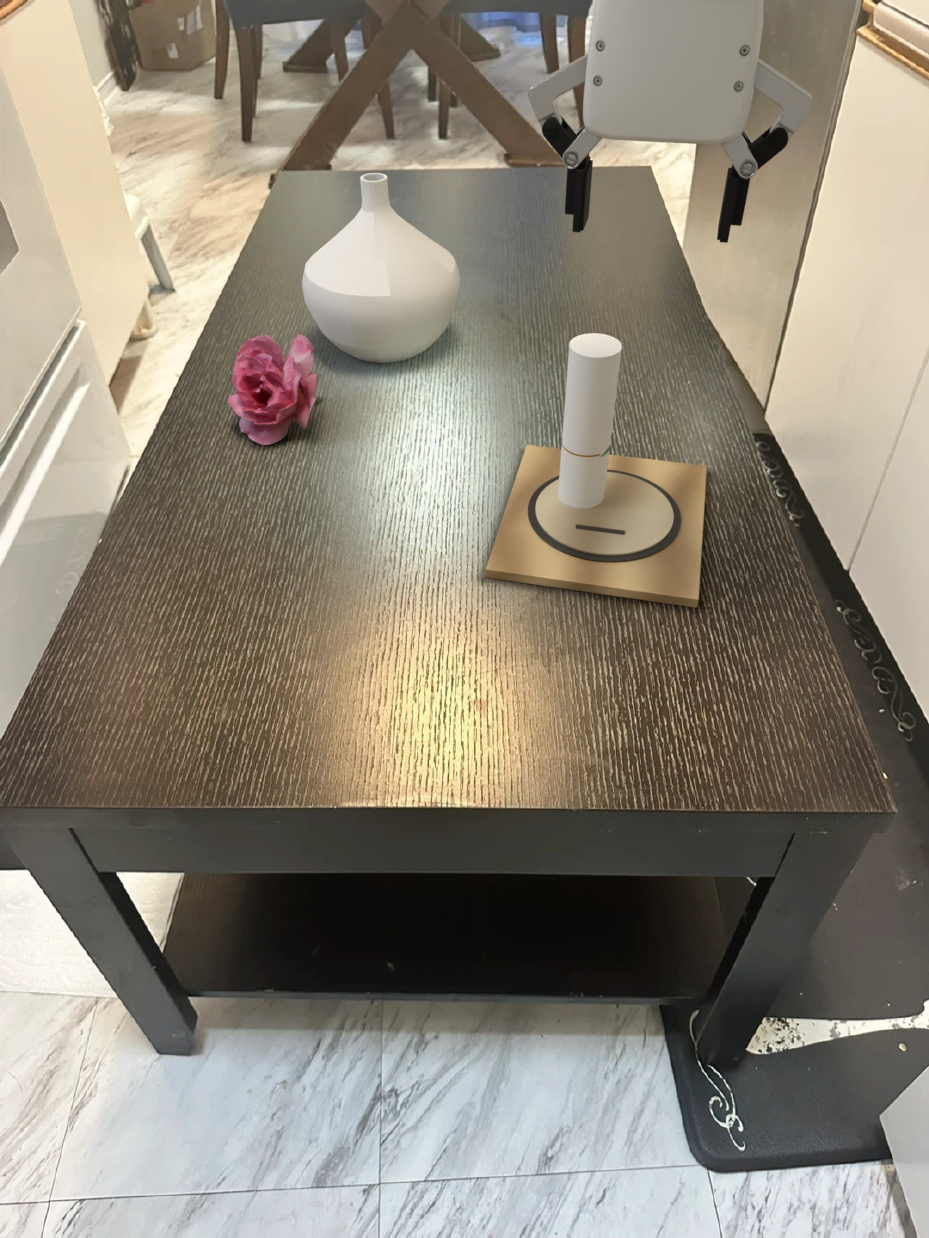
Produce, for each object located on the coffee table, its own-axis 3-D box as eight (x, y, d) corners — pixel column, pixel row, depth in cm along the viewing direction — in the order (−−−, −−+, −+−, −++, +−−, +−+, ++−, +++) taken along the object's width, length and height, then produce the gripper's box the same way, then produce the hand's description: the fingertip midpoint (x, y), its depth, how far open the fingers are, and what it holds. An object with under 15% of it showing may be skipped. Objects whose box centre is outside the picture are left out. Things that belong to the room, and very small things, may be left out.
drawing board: (705, 474, 88) (708, 461, 87) (696, 608, 74) (699, 595, 73) (526, 452, 91) (526, 440, 90) (485, 577, 77) (485, 564, 76)
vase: (491, 346, 108) (494, 178, 95) (371, 398, 99) (355, 221, 86) (398, 299, 118) (388, 141, 105) (281, 342, 109) (254, 176, 96)
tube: (573, 513, 81) (587, 362, 71) (549, 489, 84) (559, 340, 73) (612, 500, 82) (632, 350, 72) (587, 477, 85) (602, 329, 75)
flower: (275, 479, 93) (202, 414, 87) (272, 436, 101) (205, 373, 95) (356, 412, 91) (287, 339, 85) (347, 373, 98) (283, 304, 92)
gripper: (850, -96, 50) (780, 220, 61) (546, -97, 53) (535, 204, 65) (861, -81, 44) (783, 261, 56) (522, -83, 48) (515, 242, 59)
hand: (650, 230), depth 60 cm, fingers open, 9 cm apart
